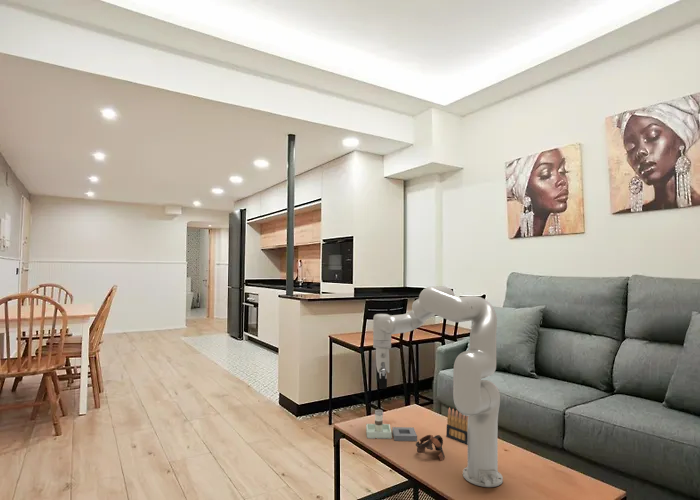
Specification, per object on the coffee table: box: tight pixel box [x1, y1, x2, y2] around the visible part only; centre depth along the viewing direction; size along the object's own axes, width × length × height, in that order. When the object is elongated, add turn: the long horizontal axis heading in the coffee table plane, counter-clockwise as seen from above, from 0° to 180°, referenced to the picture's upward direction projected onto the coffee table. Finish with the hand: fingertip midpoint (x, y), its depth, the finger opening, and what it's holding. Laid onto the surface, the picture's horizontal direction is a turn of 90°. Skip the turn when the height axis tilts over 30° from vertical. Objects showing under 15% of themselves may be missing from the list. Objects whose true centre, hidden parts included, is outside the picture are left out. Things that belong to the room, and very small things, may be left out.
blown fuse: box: [374, 409, 384, 432], centre depth 170 cm, size 3×3×9 cm
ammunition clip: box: [445, 407, 468, 446], centre depth 165 cm, size 11×2×12 cm, turn 40°
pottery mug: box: [415, 434, 446, 462], centre depth 151 cm, size 12×10×8 cm
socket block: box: [391, 426, 418, 442], centre depth 168 cm, size 9×9×2 cm
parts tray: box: [365, 423, 393, 440], centre depth 170 cm, size 9×10×2 cm
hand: (381, 385), depth 170 cm, fingers open, 9 cm apart
